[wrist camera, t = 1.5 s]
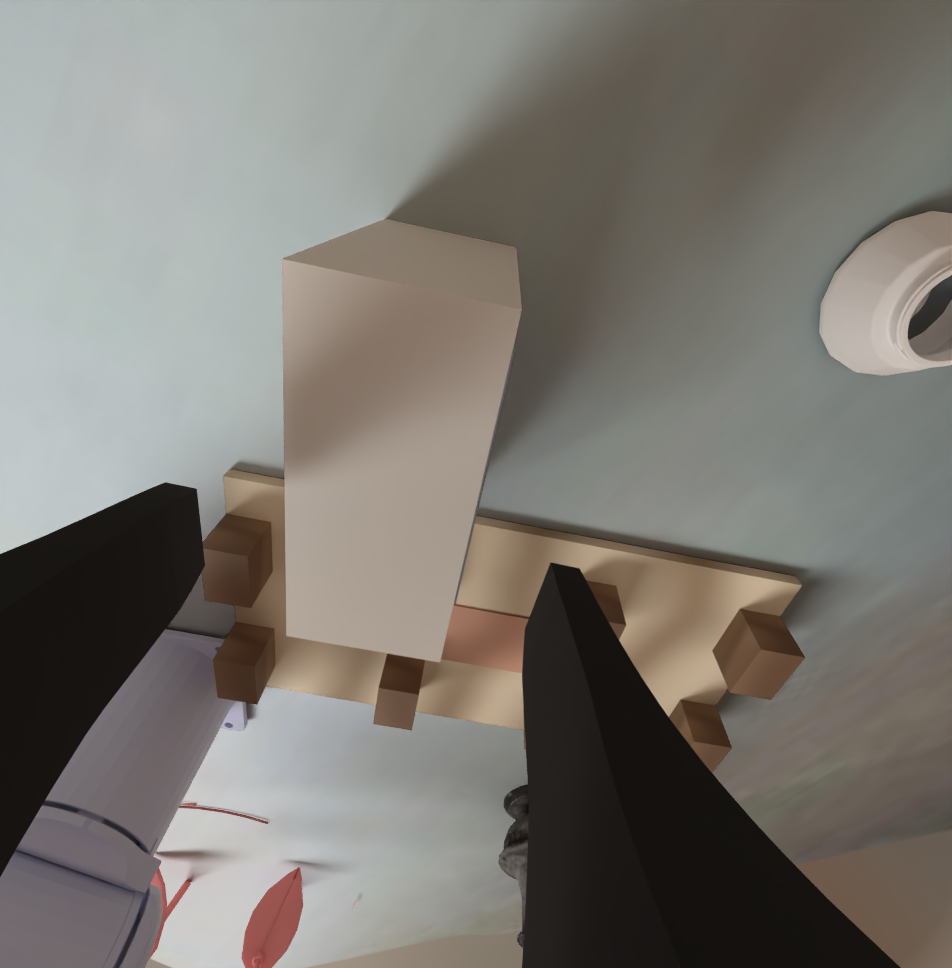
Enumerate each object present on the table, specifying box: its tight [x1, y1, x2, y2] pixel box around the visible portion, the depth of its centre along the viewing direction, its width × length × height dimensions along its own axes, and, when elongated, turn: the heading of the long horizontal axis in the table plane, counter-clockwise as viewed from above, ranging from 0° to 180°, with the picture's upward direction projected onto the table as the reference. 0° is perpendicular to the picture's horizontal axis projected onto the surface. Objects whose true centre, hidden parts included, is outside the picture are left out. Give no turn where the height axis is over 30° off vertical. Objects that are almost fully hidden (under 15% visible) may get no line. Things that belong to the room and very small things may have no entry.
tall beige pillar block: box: [282, 219, 522, 662], centre depth 16 cm, size 5×10×9 cm, turn 169°
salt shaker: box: [499, 785, 529, 947], centre depth 30 cm, size 6×6×12 cm
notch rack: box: [201, 469, 805, 772], centre depth 25 cm, size 26×14×3 cm, turn 79°
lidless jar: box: [819, 211, 952, 376], centre depth 16 cm, size 5×3×5 cm
